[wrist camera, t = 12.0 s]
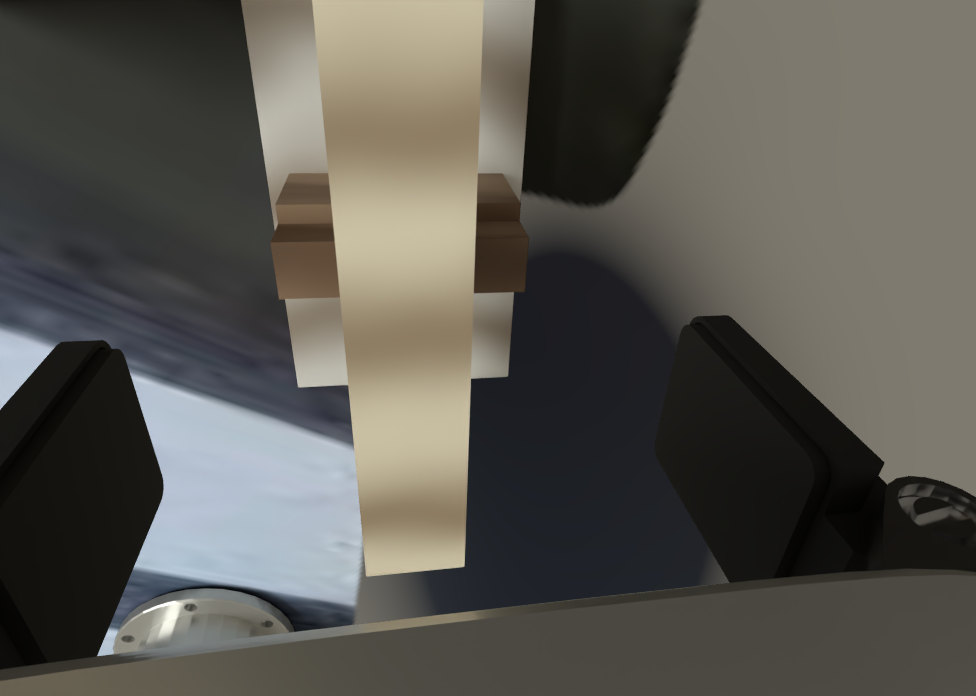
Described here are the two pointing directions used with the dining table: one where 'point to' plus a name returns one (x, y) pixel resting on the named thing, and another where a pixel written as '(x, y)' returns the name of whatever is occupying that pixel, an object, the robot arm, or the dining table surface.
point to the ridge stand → (306, 191)
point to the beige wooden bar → (405, 259)
